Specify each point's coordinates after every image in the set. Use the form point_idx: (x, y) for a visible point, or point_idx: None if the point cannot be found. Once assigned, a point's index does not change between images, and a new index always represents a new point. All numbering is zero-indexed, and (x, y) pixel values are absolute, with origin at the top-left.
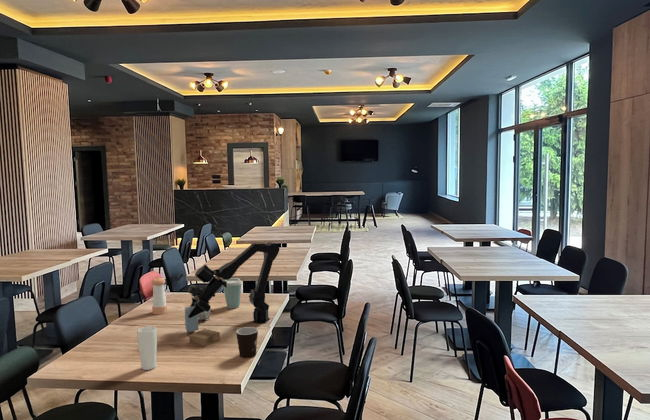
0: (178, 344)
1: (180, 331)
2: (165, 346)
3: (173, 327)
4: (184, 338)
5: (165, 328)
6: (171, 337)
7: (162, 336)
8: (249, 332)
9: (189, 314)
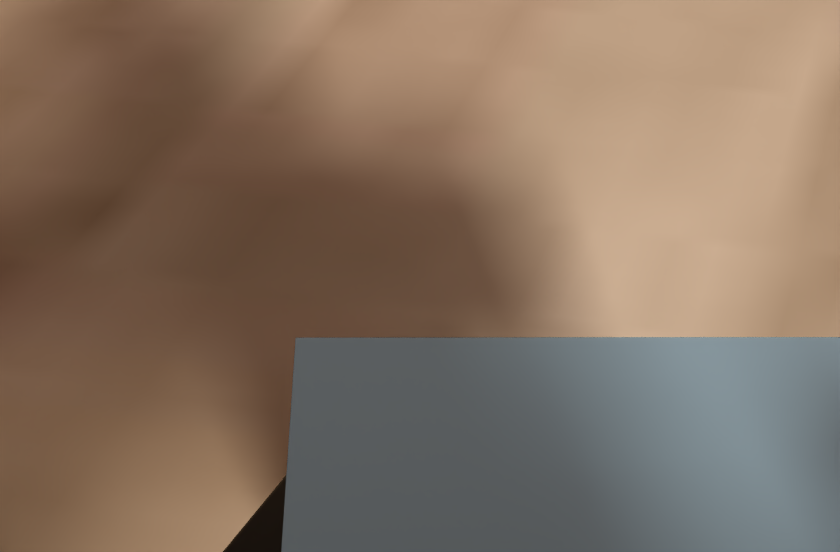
0: (17, 289)
1: None
2: (69, 143)
3: (773, 311)
4: (215, 400)
5: (755, 216)
6: (364, 241)
7: (458, 154)
8: None
9: None
